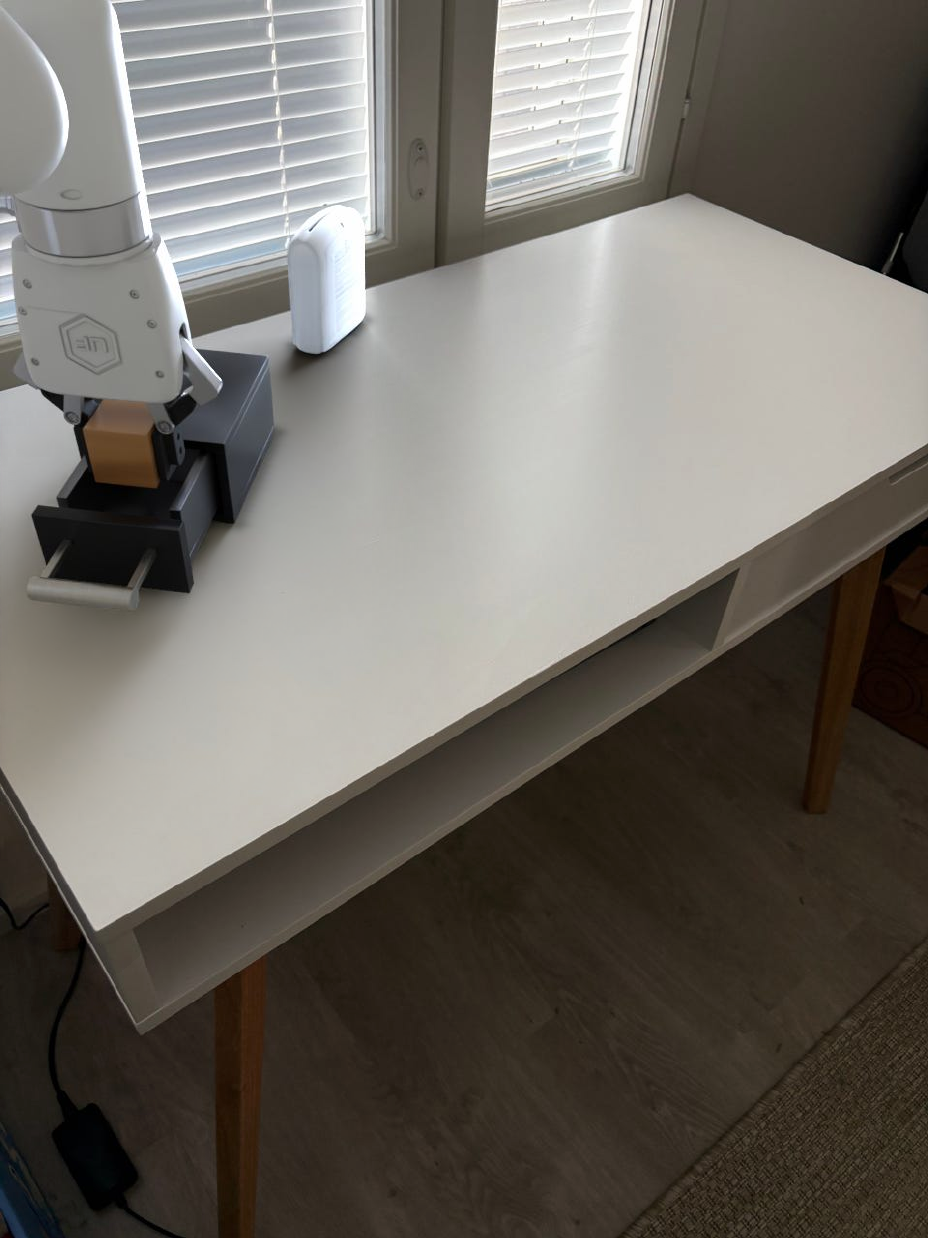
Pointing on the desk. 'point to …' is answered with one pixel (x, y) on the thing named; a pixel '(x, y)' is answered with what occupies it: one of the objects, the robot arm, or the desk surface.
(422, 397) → the desk surface
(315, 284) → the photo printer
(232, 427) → the black drawer unit
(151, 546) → the drawer with bar handle
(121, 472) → the tan wooden cube
